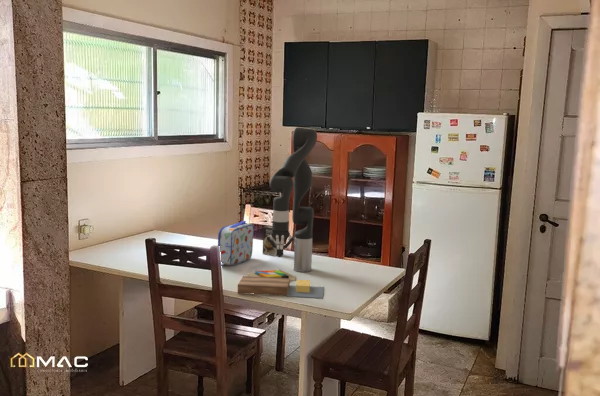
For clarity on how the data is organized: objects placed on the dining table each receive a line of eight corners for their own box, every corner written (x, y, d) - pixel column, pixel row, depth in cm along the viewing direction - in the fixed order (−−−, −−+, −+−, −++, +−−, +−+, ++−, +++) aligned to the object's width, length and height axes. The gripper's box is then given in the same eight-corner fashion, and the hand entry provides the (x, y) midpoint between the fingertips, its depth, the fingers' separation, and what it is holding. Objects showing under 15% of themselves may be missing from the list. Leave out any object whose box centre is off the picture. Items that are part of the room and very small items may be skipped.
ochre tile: (310, 280, 258) (309, 286, 259) (297, 279, 259) (297, 286, 259) (309, 286, 249) (309, 292, 250) (296, 285, 250) (296, 291, 250)
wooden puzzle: (297, 281, 270) (297, 274, 269) (263, 286, 260) (263, 279, 259) (279, 272, 284) (279, 266, 284) (246, 277, 274) (246, 270, 274)
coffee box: (262, 254, 320) (262, 226, 318) (268, 252, 326) (269, 225, 324) (275, 256, 316) (275, 228, 313) (281, 254, 321) (282, 227, 319)
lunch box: (239, 255, 316) (240, 217, 313) (255, 257, 312) (256, 219, 309) (214, 266, 290) (215, 225, 287) (232, 269, 287) (232, 227, 284)
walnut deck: (243, 284, 260) (243, 276, 260) (289, 286, 259) (289, 278, 258) (237, 293, 247) (237, 284, 246) (286, 295, 245) (286, 287, 245)
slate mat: (289, 286, 260) (289, 285, 260) (323, 287, 259) (323, 286, 259) (286, 296, 244) (286, 295, 244) (322, 298, 243) (322, 297, 243)
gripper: (296, 218, 254) (295, 255, 257) (267, 217, 255) (266, 254, 258) (294, 222, 247) (293, 259, 249) (265, 220, 247) (264, 258, 250)
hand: (279, 256), depth 253 cm, fingers closed
